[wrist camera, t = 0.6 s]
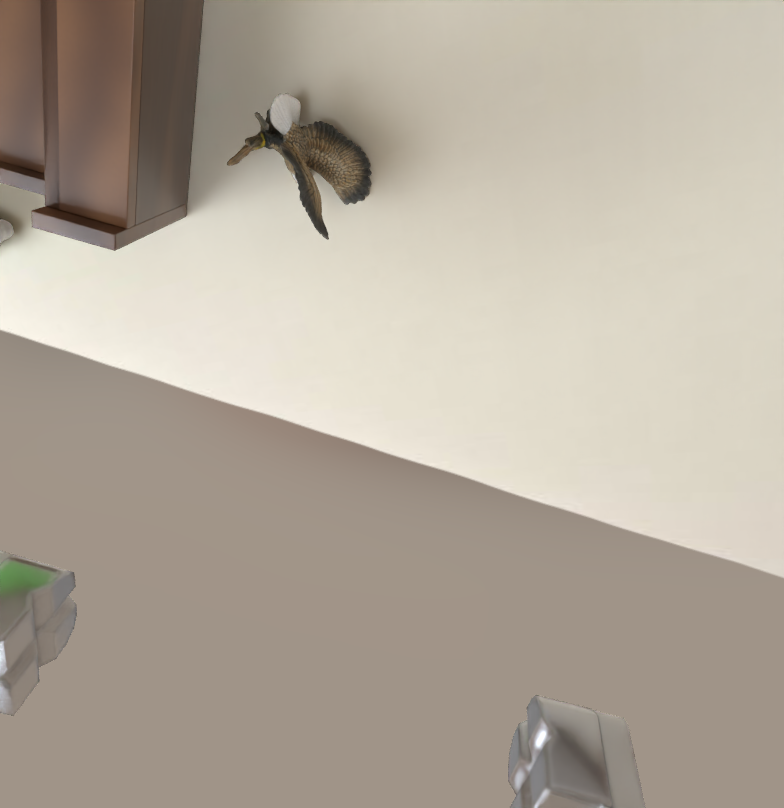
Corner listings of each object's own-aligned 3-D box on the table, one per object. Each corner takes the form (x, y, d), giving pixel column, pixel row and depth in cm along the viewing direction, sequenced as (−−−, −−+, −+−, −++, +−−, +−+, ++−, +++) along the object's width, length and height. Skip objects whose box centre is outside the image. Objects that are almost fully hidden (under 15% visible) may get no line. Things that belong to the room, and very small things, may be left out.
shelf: (5, 165, 54) (-107, 187, 44) (-12, -136, 44) (-162, -197, 34) (186, 217, 54) (115, 251, 44) (209, -75, 44) (125, -117, 34)
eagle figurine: (236, 187, 51) (325, 255, 51) (215, 142, 44) (319, 221, 44) (296, 116, 52) (383, 183, 51) (285, 61, 44) (387, 138, 44)
